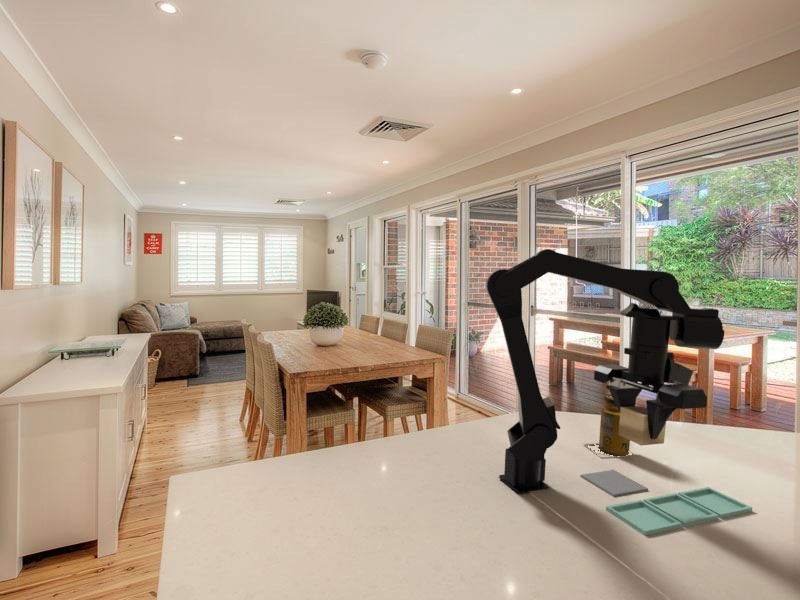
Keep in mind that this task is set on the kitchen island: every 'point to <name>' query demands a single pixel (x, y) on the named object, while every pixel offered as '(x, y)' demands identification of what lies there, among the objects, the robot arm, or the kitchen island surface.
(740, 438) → the kitchen island surface
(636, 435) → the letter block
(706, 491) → the dish far
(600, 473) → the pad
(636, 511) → the dish near
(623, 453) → the condiment
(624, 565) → the kitchen island surface
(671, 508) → the dish middle
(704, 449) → the kitchen island surface
